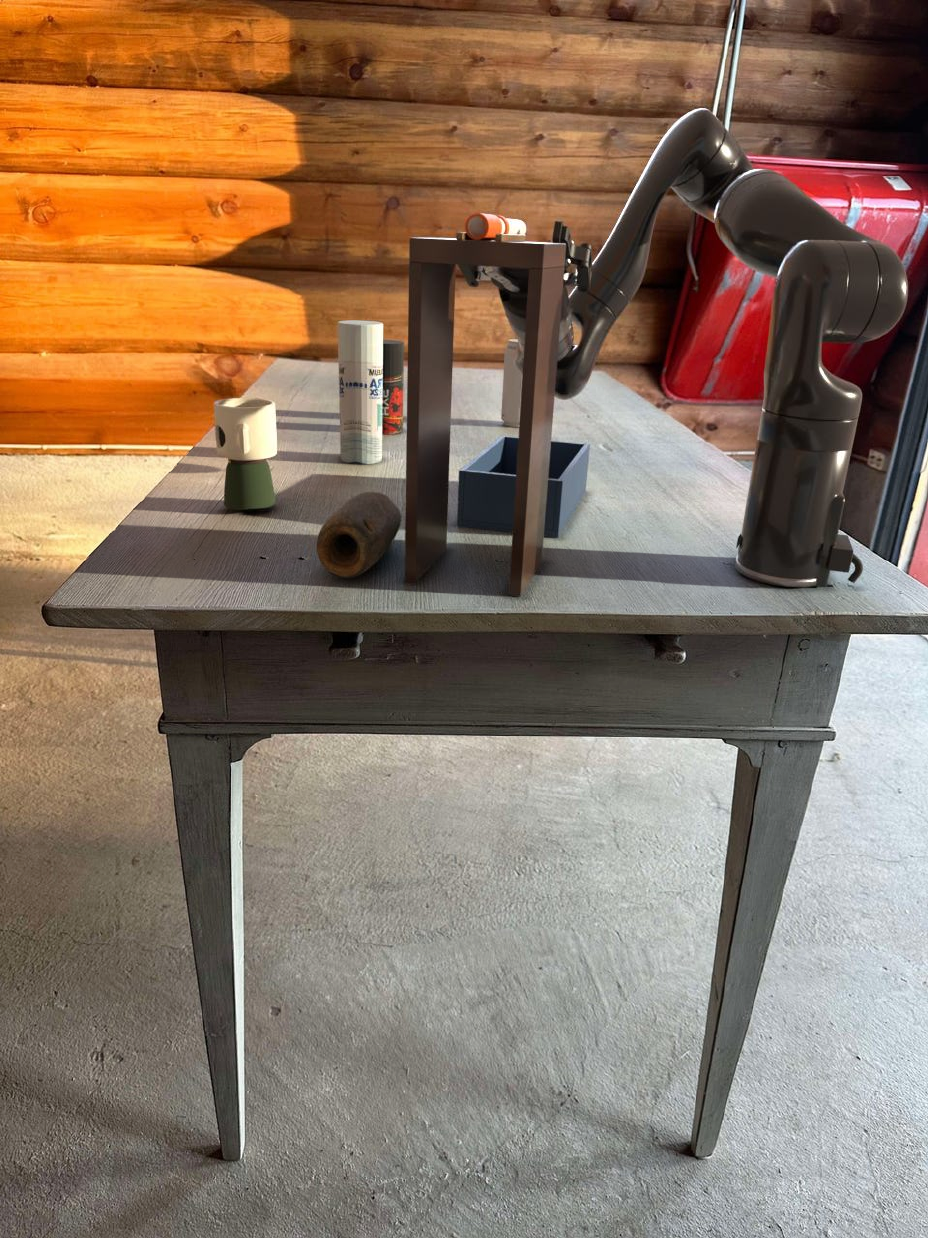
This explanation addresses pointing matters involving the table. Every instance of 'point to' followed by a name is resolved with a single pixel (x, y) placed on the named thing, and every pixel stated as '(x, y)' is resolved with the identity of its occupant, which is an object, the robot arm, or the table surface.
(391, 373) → the deodorant
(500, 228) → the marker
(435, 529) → the stand
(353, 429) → the spray paint can
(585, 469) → the bin
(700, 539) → the table surface
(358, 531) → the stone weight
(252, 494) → the character mug
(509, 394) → the energy drink can
